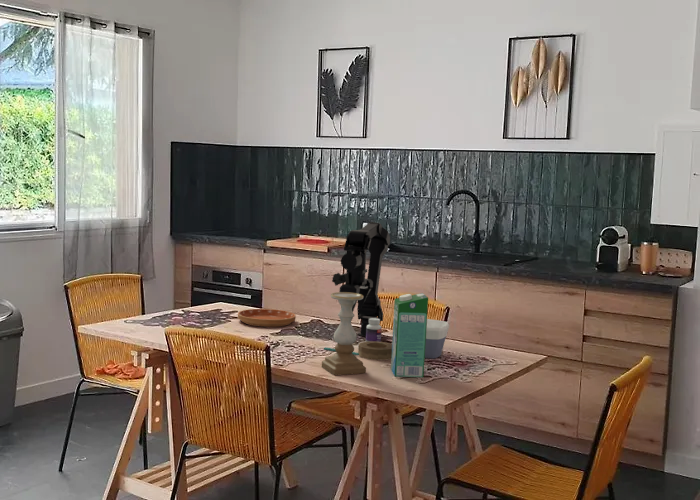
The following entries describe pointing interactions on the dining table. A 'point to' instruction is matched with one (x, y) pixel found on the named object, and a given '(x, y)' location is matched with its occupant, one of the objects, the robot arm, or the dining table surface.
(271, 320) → the saucer
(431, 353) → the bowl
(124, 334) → the dining table surface
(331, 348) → the teal stick
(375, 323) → the pill bottle
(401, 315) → the milk carton
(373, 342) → the brown faceted ring
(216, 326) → the dining table surface
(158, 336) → the dining table surface
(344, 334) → the candle holder
